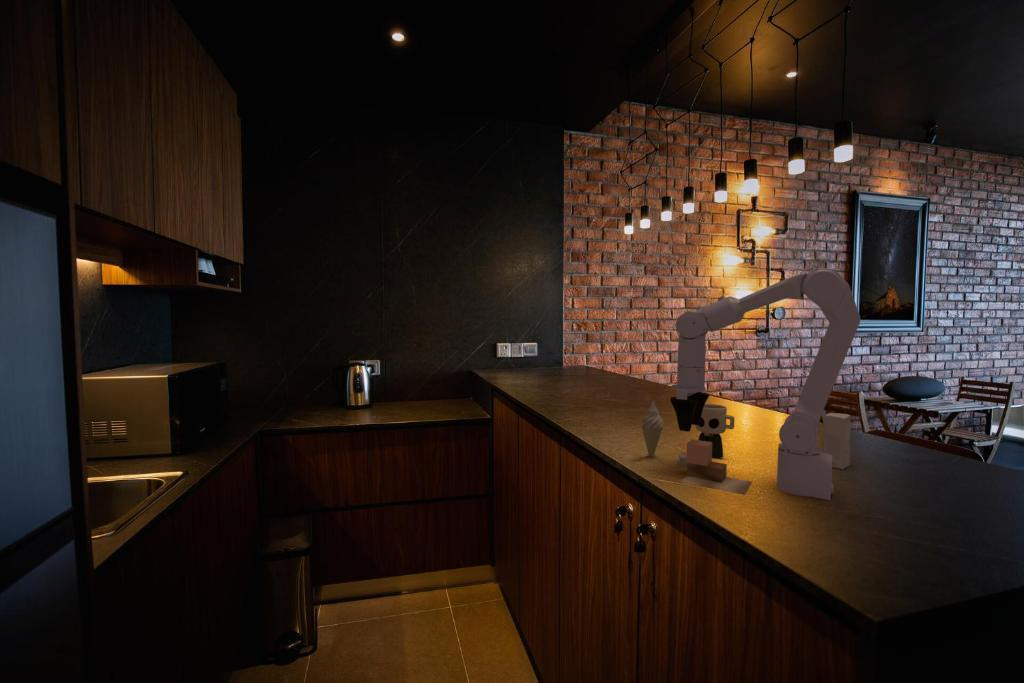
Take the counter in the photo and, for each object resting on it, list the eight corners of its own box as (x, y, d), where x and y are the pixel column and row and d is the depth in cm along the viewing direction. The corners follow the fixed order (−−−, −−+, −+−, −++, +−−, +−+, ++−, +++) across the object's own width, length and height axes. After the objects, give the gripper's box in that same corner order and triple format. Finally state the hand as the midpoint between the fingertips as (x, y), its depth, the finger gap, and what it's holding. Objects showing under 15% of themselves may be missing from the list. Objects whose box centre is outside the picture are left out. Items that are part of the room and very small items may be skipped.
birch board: (752, 486, 100) (752, 481, 99) (744, 499, 92) (744, 494, 92) (692, 475, 106) (692, 470, 106) (680, 486, 99) (680, 481, 99)
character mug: (682, 456, 120) (684, 405, 120) (691, 450, 126) (693, 401, 125) (729, 465, 114) (731, 411, 113) (736, 458, 119) (738, 406, 119)
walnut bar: (726, 476, 102) (726, 464, 102) (721, 482, 99) (722, 469, 99) (692, 470, 106) (692, 458, 106) (686, 476, 103) (687, 463, 103)
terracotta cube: (711, 461, 104) (712, 442, 104) (707, 466, 100) (707, 446, 100) (691, 458, 106) (692, 439, 106) (686, 462, 103) (686, 443, 103)
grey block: (696, 467, 113) (697, 454, 112) (698, 472, 109) (698, 459, 109) (678, 465, 114) (678, 453, 113) (679, 470, 110) (680, 458, 110)
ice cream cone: (657, 464, 114) (659, 401, 113) (637, 460, 117) (638, 399, 116) (665, 459, 118) (666, 399, 117) (645, 456, 121) (646, 396, 120)
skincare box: (844, 470, 111) (846, 418, 111) (821, 465, 114) (823, 415, 114) (850, 464, 115) (852, 414, 115) (828, 460, 119) (830, 411, 118)
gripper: (681, 362, 114) (680, 419, 115) (662, 367, 102) (661, 431, 103) (713, 364, 110) (711, 423, 111) (697, 370, 98) (695, 435, 99)
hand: (689, 427), depth 107 cm, fingers open, 7 cm apart
